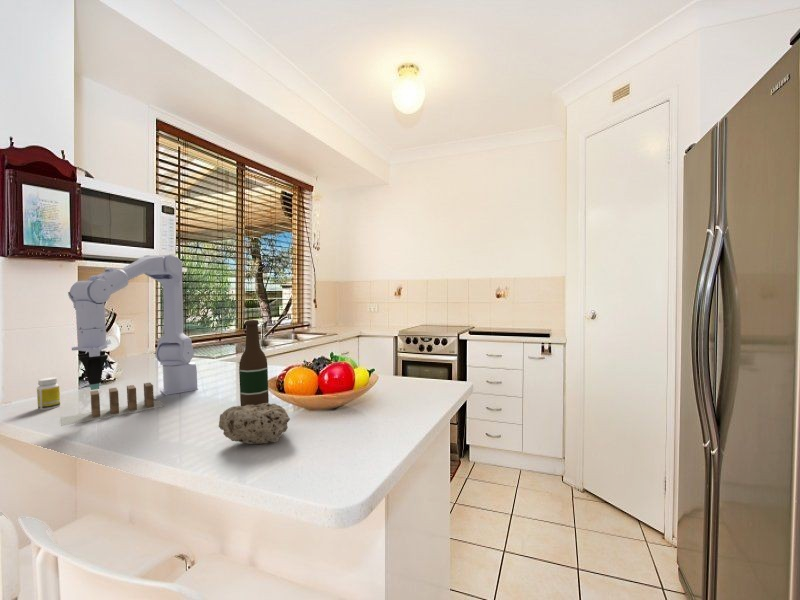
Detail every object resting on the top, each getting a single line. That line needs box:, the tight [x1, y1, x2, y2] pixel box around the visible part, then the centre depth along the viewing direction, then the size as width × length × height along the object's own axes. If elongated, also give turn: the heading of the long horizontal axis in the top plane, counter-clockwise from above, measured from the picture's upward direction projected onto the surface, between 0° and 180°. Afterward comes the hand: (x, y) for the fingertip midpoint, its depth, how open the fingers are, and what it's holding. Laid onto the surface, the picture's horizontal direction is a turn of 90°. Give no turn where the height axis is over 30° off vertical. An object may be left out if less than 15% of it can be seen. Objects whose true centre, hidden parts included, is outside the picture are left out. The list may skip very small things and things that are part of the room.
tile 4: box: [89, 389, 101, 418], centre depth 104 cm, size 2×5×6 cm, turn 41°
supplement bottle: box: [36, 376, 61, 411], centre depth 112 cm, size 5×5×8 cm
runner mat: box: [60, 399, 165, 427], centre depth 106 cm, size 22×8×1 cm, turn 131°
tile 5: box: [89, 383, 100, 391], centre depth 99 cm, size 2×5×6 cm, turn 41°
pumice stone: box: [218, 403, 291, 445], centre depth 84 cm, size 14×12×8 cm
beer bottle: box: [238, 319, 270, 406], centre depth 108 cm, size 8×8×24 cm
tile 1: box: [143, 382, 155, 408], centre depth 112 cm, size 2×5×6 cm, turn 41°
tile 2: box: [126, 384, 138, 411], centre depth 109 cm, size 2×5×6 cm, turn 41°
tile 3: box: [108, 387, 120, 414], centre depth 106 cm, size 2×5×6 cm, turn 41°
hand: (94, 381), depth 99 cm, fingers closed on tile 5, 5 cm apart
